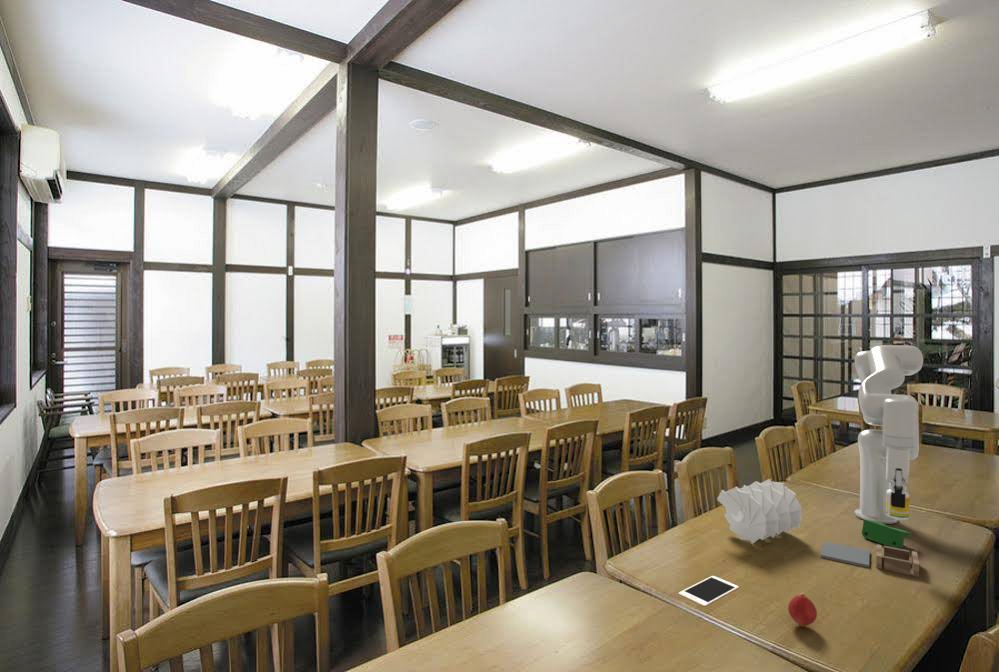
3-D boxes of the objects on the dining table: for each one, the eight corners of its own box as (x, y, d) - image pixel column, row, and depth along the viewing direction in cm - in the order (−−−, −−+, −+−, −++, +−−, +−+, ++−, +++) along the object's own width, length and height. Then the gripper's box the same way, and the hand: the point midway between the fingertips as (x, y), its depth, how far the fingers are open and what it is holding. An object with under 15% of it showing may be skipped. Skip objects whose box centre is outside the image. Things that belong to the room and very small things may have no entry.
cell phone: (677, 595, 140) (677, 592, 140) (712, 577, 149) (712, 575, 149) (704, 608, 134) (704, 605, 133) (739, 588, 143) (739, 586, 143)
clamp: (900, 559, 168) (917, 537, 166) (889, 558, 166) (906, 535, 163) (866, 532, 179) (882, 510, 176) (856, 530, 176) (871, 508, 174)
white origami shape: (794, 544, 179) (747, 557, 167) (751, 507, 193) (705, 517, 180) (820, 502, 173) (774, 512, 160) (774, 466, 186) (728, 474, 173)
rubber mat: (823, 543, 170) (823, 541, 170) (869, 552, 163) (869, 550, 163) (820, 557, 160) (820, 554, 160) (869, 567, 153) (869, 565, 153)
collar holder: (876, 555, 161) (876, 544, 161) (916, 563, 156) (916, 552, 156) (876, 567, 153) (876, 555, 153) (918, 576, 148) (919, 564, 148)
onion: (782, 620, 127) (782, 586, 127) (805, 618, 128) (805, 585, 128) (798, 634, 121) (798, 599, 121) (822, 632, 122) (822, 598, 122)
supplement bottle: (881, 513, 157) (881, 481, 157) (898, 513, 157) (899, 480, 157) (895, 520, 152) (896, 487, 151) (913, 520, 152) (914, 486, 151)
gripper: (882, 434, 163) (881, 493, 163) (882, 446, 149) (881, 510, 149) (913, 437, 158) (912, 497, 159) (917, 449, 144) (915, 515, 145)
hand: (897, 503), depth 154 cm, fingers closed on supplement bottle, 5 cm apart
